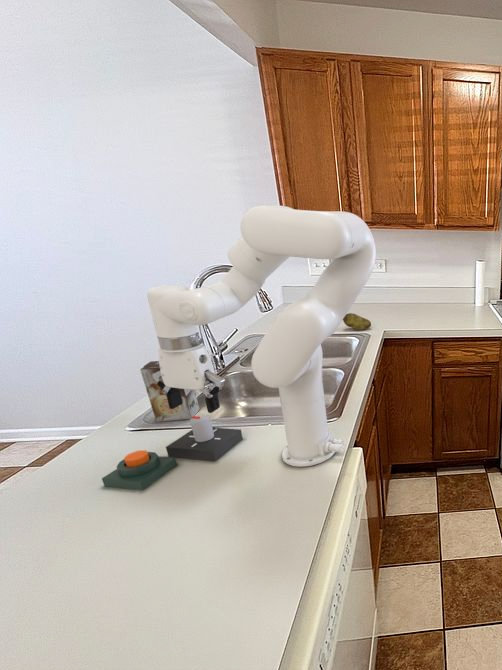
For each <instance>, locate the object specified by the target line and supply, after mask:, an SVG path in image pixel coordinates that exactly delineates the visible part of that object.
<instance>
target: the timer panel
mask: <svg viewBox="0 0 502 670" xmlns="http://www.w3.org/2000/svg"><path fill="white" fill-rule="evenodd" d="M212 428H213V432H214V437H213V438H212V439H210V440H208V441H204V442H197V441H195V438H194V434H193V430H192V429H191V430H189V431H188V432H186V433H185V434H184V435H181V436H180V437H179V438H177V439H176V440H174V441H173V442H171V443H170V444H168V445H167V446H165V449H166V453H167V457H173V458H175V459H180V460H181V459H182V460H192V461H194V460H195V461H202V462H203V461H204V462H213V463H214V462H217V461H218V460H219V459H221V458H222V457H223V456H225V455H226V454H227V453H228V452H229V451H230V450H232V449H233V448H235V446H237V445H238V444H239V443H240V442H242V441H243V433H242V429H238V428H237V429H236V428H227V427H216V426H215V427H214V426H212Z"/></svg>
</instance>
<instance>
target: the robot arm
mask: <svg viewBox="0 0 502 670" xmlns="http://www.w3.org/2000/svg"><path fill="white" fill-rule="evenodd" d="M240 234H241V237H240V238H239V239H238V240H236V242H235V243H234V244H232V246H231V247H230V248H229V249H228V251H227V257H228V260H229V262H230V264H231V265H232V266H231V268H230V269H229V270H228V271H227V272H226V273H225V274H224V275H223V276H222V277H221V278H220V279H219V280H218V281H216V282H214V283H213V284H208V285H205V286H204V285H203V286H201V287H197V288H193V289H189V288H188V287H186V286H184V285H178V284H177V285H176V284H166V285H157V286H153V287H151V288H149V289H148V291H147V294H146V296H147V301H148V304H149V308H150V313H151V317H152V320H153V325H154V329H155V333H156V337H157V341H158V345H159V347H158V361H159V364H160V371H158V372H156V373H154V374H152V377H153V378H154V380H155V381H156V382H157V385H158V386H159V387H160V388H161V389H163V390H162V391H163V393H164V394H166V396H167V400H168V404H169V408H170V409H174V408H176V407H178V406H179V405H181V404H182V403H183V402H182V398H181V394H180V390H179V389H176V388H180V389H191V390H195V391H200V392H202V393H203V394H204V395H205V396H206V397H205V398H204V401H205V405H206V410H207V413H209V414H212V413H214V412H215V411H217V410H219V409H220V407H221V405H220V401H219V394H220V393H221V391H222V390H224V385H225V383H226V379H225V378H223V377H222V376H220V375H218V374H216V372H215V368H214V364H213V362H212V358H211V356H210V353H209V351H208V349H207V347H206V345H204V339H203V338H202V337H200V332H199V327H198V326H205V325H208V324H211V323H213V322H216V321H219V320H220V319H223V318H225V317H228V316H231V315H233V314H235V313H236V312H238V311H239V310H240V309H242V308H243V307H244V306H246V304H247V303H249V302H250V301H251V300H252V299H253V298H254V297H255V296H256V295H257V294H258V293H259V292H260V290H261V289H262V288H263V285H264V284H265V283H266V280H267V279H268V278H269V277H270V276H271V275H272V274H273V273H274V272H275V271H276V270H277V269H278V268H280V266H281V265H283V263H285V262H286V261H287V260H288V259H289V258H290V257H291V258H302V259H311V260H312V259H313V260H314V259H315V260H331V261H330V262H329V263H328V265H327V266H326V267H325V268H324V270H323V271H322V273H320V276H319V277H318V279H317V281H316V282H315V284H314V285H313V287H312V288H311V289H310V291H309V292H308V293H307V294H306V295H305V296H304V297H302V298H300V299H298V300H295V301H294V302H292V303H290V304H288V305H287V306H285V307H284V308H283V309H282V310H281V311H280V312H279V313H278V314H277V316H276V317H275V318H274V320H273V322H272V323H271V324H270V326H269V328H268V329H267V331H266V332H265V334H264V336H263V337H262V339H261V341H260V342H259V344H258V345H257V347H256V348H255V349H254V350H255V351H254V352H253V354H252V357H251V360H250V362H251V363H250V368H251V371H252V374H253V376H254V378H255V379H256V381H258V383H260V384H261V385H262V386H265V387H268V388H271V389H278V394H279V401H280V407H281V414H282V419H283V426H284V432H285V438H286V442H287V445H285V447H284V448H283V449H282V452H281V457H282V460H283V462H284V463H285V464H287V465H289V466H292V467H296V468H297V467H298V468H299V467H300V468H301V467H302V468H304V467H311V466H316V465H319V464H321V463H323V462H325V461H327V460H329V459H330V458H332V456H334V455H335V453H336V452H337V453H343V452H344V451H345V444H344V439H342V438H341V439H340V438H337V439H336V438H335V437H334V433H333V432H332V431H329V425H328V417H327V408H326V403H325V402H326V401H325V391H324V383H323V381H324V380H323V347H322V344H323V343H324V341H326V340H327V339H329V338H330V337H332V335H334V333H335V332H336V331H337V330H338V328H339V327H340V326H341V323H342V321H343V318H344V317H345V315H346V314H348V313H349V311H350V310H351V308H352V307H353V305H354V303H355V302H356V300H357V298H358V297H359V295H360V294H361V292H362V291H363V289H364V288H365V286H366V285H367V283H368V281H369V280H370V277H371V276H372V274H373V271H374V268H375V265H376V259H377V247H376V246H377V245H376V242H375V238H374V236H373V233H372V231H371V229H370V228H369V226H368V224H367V222H365V221H364V220H363V219H362V217H360V216H359V215H357V214H354V213H352V212H349V211H344V210H343V211H342V210H339V211H338V210H337V211H336V210H335V211H334V210H333V211H329V210H327V211H323V210H306V209H294V208H292V207H289V206H286V205H271V204H270V205H268V204H267V205H266V204H265V205H264V204H263V205H257V206H254V207H252V208H250V209H249V210H247V211H246V212H245V213H244V215H243V216H242V218H241V222H240ZM209 389H210V390H209Z"/></svg>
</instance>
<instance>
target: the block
mask: <svg viewBox="0 0 502 670" xmlns="http://www.w3.org/2000/svg"><path fill="white" fill-rule="evenodd" d="M147 452H148V455H149V458H150V460H149V461H148V462H146V463H144V464H142V465H139V466H135V467H127V466H126V463H125V460H124V459H122V460H120V461H119V462H118V464H117V465H116V469H114V470H113V471H111V472H109V473H108V474H107V475H105V476H102V478H101V481H102V483H103V486H104V487H105V488H113V489H123V490H133V491H145V490H146V489H148V487H151V486H152V485H153V484H154V483H155V482H157V481H159V479H161V478H162V477H164V476H165V475H167V474H168V473H169V472H171V471H172V470H173V469H175V468H176V467H177V466H178V462H177V460H176V459H177V458H173V457H168V456H162V455H161V456H160V455H159V454H157V453H156V452H155V451H147Z"/></svg>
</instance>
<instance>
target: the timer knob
mask: <svg viewBox="0 0 502 670" xmlns="http://www.w3.org/2000/svg"><path fill="white" fill-rule="evenodd" d="M189 423H190V426H191V430H193V434H194V438H195V441H197V442H204V441H208V440H210V439H212V438H213V437H214V432H213V428H212V427H213V424H212V420H211V416H210V415H209V414H198V415H195V416H192V417H191V419H189Z"/></svg>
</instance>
